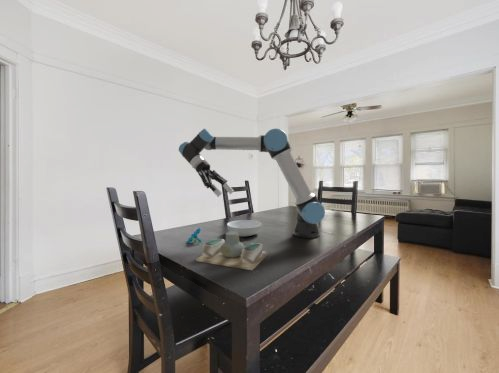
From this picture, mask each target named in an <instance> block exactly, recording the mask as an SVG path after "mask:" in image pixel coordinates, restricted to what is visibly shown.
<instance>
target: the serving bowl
mask: <svg viewBox="0 0 499 373" xmlns="http://www.w3.org/2000/svg"><path fill="white" fill-rule="evenodd" d="M226 227H227V230H228V232H238V233H239V237H243V238H245V237H250V236H254V235H256V234H258V233H259V232H260V230H261V228H262V223H261V222H260V221H257V220H252V219H251V220H250V219H241V220H233V221H229V222H227V224H226Z"/></svg>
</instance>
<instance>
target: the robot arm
mask: <svg viewBox="0 0 499 373" xmlns="http://www.w3.org/2000/svg"><path fill="white" fill-rule="evenodd" d="M203 150H206V151H212V150H213V151H214V150H215V151H216V150H222V151H223V150H226V151H229V150H230V151H231V150H235V151H237V150H238V151H245V150H246V151H258V152H260V153H268V154H269V156H270V158H271V159H272V160H275V161H276V164H277V165H278V167H279V168H280V171H281V173H282V174H283V177H284V179H285V180H286V182H287V185H288V186H289V188H290V191H291V192H292V194H293V195H294V198H295V203H294V204H295V206H296V223H295V226H294V229H293V236H295V237H298V238H303V239H315V238H318V237H320V235H321V234H320V233H321V232H320V229H319V225H318V223H320V222H321V221H322V220H323V219H324V217H325V216H326V215H325V214H326V210H325V208H324V206H323V204H322V203H320V201H319V199H318V197H317V195H316V193H314V192H311V190H310V188H309V185H308V184H307V181H306V180H305V178H304V176H303V174H302V172H301V171H300V169H299V166H298V164H297V162H296V161H295V159H294V156H293V155H292V153H291V152H292V147H291V145H290V143H289V141H288V136H287V134H286V132H285V131H284V130H282V129H280V128H271V129H269V130H268V131H267V132H266V133H265V134H262V135H261V134H260V135H259V136H214V135H213V134H212V133H211V132H210V131H209V130H208V129H207V128H203V129H202V130H201V131H199V132H198V134H196V136H194V138H193V139H191V141H190V142H189V141H184V142H183V143H181V144H180V145H179V147H178V152H179V153H180V155H181V157H183V158H184V159H185V160H186V161H187V163H189V165H190V166H191V167H192V168H193V169H194V170H195V172H196V173H197V174H198V175H199V178H200V179H201V182H202V183H203V185H204V187H206V189H210V190H211V191H212V193H213V194H214V195H215V196H217V198H219V197H220V196H221V195H222V194H223V193H222V191H221V190H220V189H219V188H218V187H217V186H216V185H215V184H214V183H213V181H212V180H215V182H217V183H219V184H220V185H222V187H223V188H224V189H225V190H226V192H227V193H229V194H230V195H232V194H233V193H234V192H235V190H234V189H233V188H232V187H231V185H229V184H228V180H227V179H225V178H224V177H223V176H222V175H221V174H220V173H218V172H217V171H216V170H214V169H213V170H211V164H209V163H208V161H206V159H205V157H203V156H202V155H201V154H200V153H202V152H203Z"/></svg>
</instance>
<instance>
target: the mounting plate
mask: <svg viewBox="0 0 499 373" xmlns="http://www.w3.org/2000/svg"><path fill="white" fill-rule="evenodd" d="M225 242H226V239H223V238H216V237H215V238H213V239H211V240H208V241H207V242H205V243H204V244H202V247H201V248H202V255H200V256H199V257H196V258H195V261H196V262H199V263H206V264H210V265H211V264H212V265H218V266H222V267H223V266H224V267H231V268H234V269H241V270H248V271H253V270H254V269H255V268H256V267H257V266H258V265H260V263H261V262H262V261H263V260H264V259H265V258H266V257H267V256H268V251H265V250H263V243H256V242H251V243H249V245H246V246H245V248H244V249H243V250H242V255H240V256H238V257H233V258H228V257H226V256H224V255H223V254H222V253H221V251H220V247H221V245H222V244H223V243H225Z"/></svg>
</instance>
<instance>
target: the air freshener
mask: <svg viewBox="0 0 499 373" xmlns="http://www.w3.org/2000/svg"><path fill="white" fill-rule="evenodd" d="M244 248H246V246H245V245H244V244H243V242H241V241H240V236H239V233H238V232H229V231H228V232H226V233H225V243H223V244H222V245H221V247H220V251H221V253H222V254H223V255H224V256H226V257H228V258H233V257H238V256H240V255H242V250H243V249H244Z"/></svg>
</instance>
